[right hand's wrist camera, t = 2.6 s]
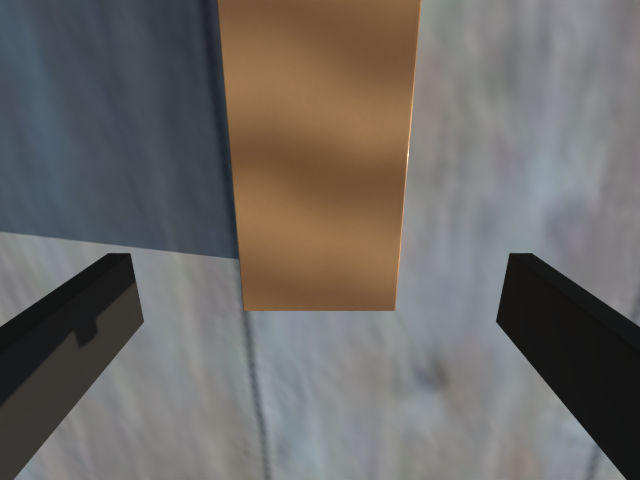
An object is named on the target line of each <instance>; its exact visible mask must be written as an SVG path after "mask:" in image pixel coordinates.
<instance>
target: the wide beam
mask: <svg viewBox="0 0 640 480" xmlns="http://www.w3.org/2000/svg"><path fill="white" fill-rule="evenodd" d="M217 7H218V19H219V30H220V42H221V54H222V65H223V77H224V89H225V100H226V112H227V124H228V135H229V147H230V159H231V170H232V182H233V194H234V205H235V217H236V229H237V241H238V252H239V264H240V276H241V287H242V299H243V310H244V311H395V308H396V296H397V284H398V272H399V261H400V249H401V237H402V225H403V213H404V201H405V189H406V178H407V166H408V154H409V142H410V130H411V118H412V106H413V95H414V83H415V71H416V59H417V47H418V35H419V23H420V11H421V0H217Z"/></svg>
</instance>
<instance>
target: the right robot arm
mask: <svg viewBox="0 0 640 480" xmlns="http://www.w3.org/2000/svg"><path fill="white" fill-rule="evenodd" d="M143 322H144V319H143V314H142V309H141V304H140V299H139V294H138V289H137V284H136V279H135V274H134V269H133V264H132V259H131V254H130V253H108V254H106V255H105V256H103V257H102V258H101V259H99V260H98V261H96V262H95V263H93V264H92V265H90V266H89V267H87V268H86V269H84V270H83V271H82V272H80V273H79V274H77V275H76V276H74V277H73V278H71V279H70V280H68V281H67V282H65V283H64V284H62V285H61V286H60V287H58V288H57V289H55V290H54V291H52V292H51V293H49V294H48V295H46V296H45V297H43V298H42V299H41V300H39V301H38V302H36V303H35V304H33V305H32V306H30V307H29V308H27V309H26V310H24V311H23V312H22V313H20V314H19V315H17V316H16V317H14V318H13V319H11V320H10V321H8V322H7V323H5V324H4V325H2V326H1V327H0V480H14V478H15V477H16V476H17V475H18V474H19V472H20V471H21V470H22V469H23V468H24V466H25V465H26V464H27V463H28V462H29V460H30V459H31V458H32V457H33V455H34V454H35V453H36V452H37V451H38V449H39V448H40V447H41V446H42V445H43V443H44V442H45V441H46V440H47V439H48V437H49V436H50V435H51V434H52V432H53V431H54V430H55V429H56V428H57V426H58V425H59V424H60V423H61V422H62V420H63V419H64V418H65V417H66V416H67V414H68V413H69V412H70V411H71V409H72V408H73V407H74V406H75V405H76V403H77V402H78V401H79V400H80V399H81V397H82V396H83V395H84V394H85V393H86V391H87V390H88V389H89V388H90V386H91V385H92V384H93V383H94V382H95V380H96V379H97V378H98V377H99V376H100V374H101V373H102V372H103V371H104V369H105V368H106V367H107V366H108V365H109V363H110V362H111V361H112V360H113V359H114V357H115V356H116V355H117V354H118V353H119V351H120V350H121V349H122V348H123V346H124V345H125V344H126V343H127V342H128V340H129V339H130V338H131V337H132V336H133V334H134V333H135V332H136V331H137V330H138V328H139V327H140V326H141V325H142V323H143ZM496 322H497V323H498V325H499V326H500V327H501V328H502V330H503V331H504V332H505V333H506V334H507V336H508V337H509V338H510V339H511V340H512V342H513V343H514V344H515V345H516V346H517V348H518V349H519V350H520V351H521V353H522V354H523V355H524V356H525V357H526V359H527V360H528V361H529V362H530V363H531V365H532V366H533V367H534V368H535V370H536V371H537V372H538V373H539V374H540V376H541V377H542V378H543V379H544V380H545V382H546V383H547V384H548V385H549V386H550V388H551V389H552V390H553V391H554V393H555V394H556V395H557V396H558V397H559V399H560V400H561V401H562V402H563V403H564V405H565V406H566V407H567V408H568V409H569V411H570V412H571V413H572V414H573V416H574V417H575V418H576V419H577V420H578V422H579V423H580V424H581V425H582V426H583V428H584V429H585V430H586V431H587V432H588V434H589V435H590V436H591V437H592V439H593V440H594V441H595V442H596V443H597V445H598V446H599V447H600V448H601V449H602V451H603V452H604V453H605V454H606V455H607V457H608V458H609V459H610V460H611V462H612V463H613V464H614V465H615V466H616V468H617V469H618V470H619V471H620V472H621V474H622V475H623V476H624V477H625V478H626V480H640V327H639V326H638V325H636V324H635V323H633V322H632V321H630V320H629V319H627V318H626V317H624V316H623V315H621V314H620V313H618V312H617V311H616V310H614V309H613V308H611V307H610V306H608V305H607V304H605V303H604V302H602V301H601V300H599V299H598V298H597V297H595V296H594V295H592V294H591V293H589V292H588V291H586V290H585V289H583V288H582V287H580V286H579V285H577V284H576V283H575V282H573V281H572V280H570V279H569V278H567V277H566V276H564V275H563V274H561V273H560V272H558V271H557V270H556V269H554V268H553V267H551V266H550V265H548V264H547V263H545V262H544V261H542V260H541V259H539V258H538V257H537V256H535V255H534V254H532V253H510V254H509V259H508V264H507V269H506V274H505V279H504V284H503V289H502V294H501V299H500V304H499V309H498V314H497V319H496Z"/></svg>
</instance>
